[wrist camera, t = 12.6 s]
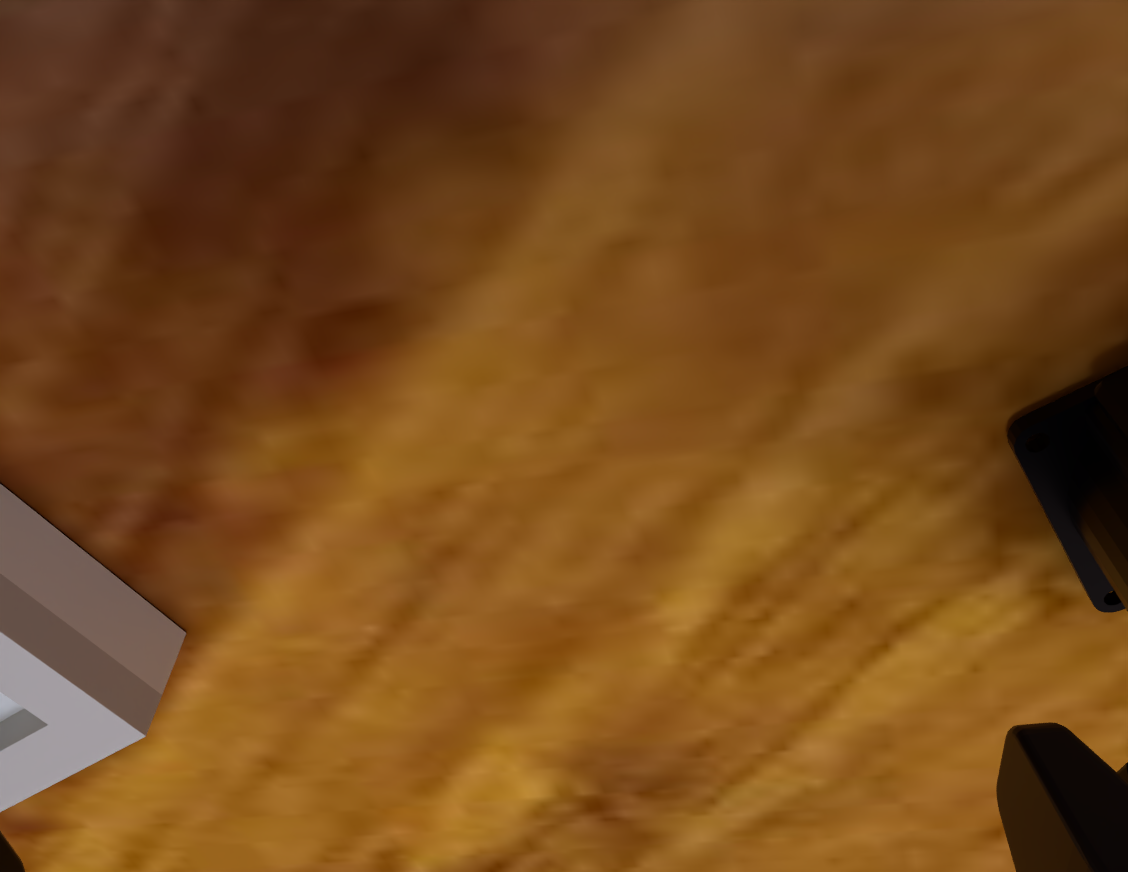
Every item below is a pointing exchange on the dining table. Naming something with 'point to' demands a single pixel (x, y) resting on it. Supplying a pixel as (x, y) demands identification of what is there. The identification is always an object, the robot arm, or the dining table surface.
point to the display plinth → (70, 656)
